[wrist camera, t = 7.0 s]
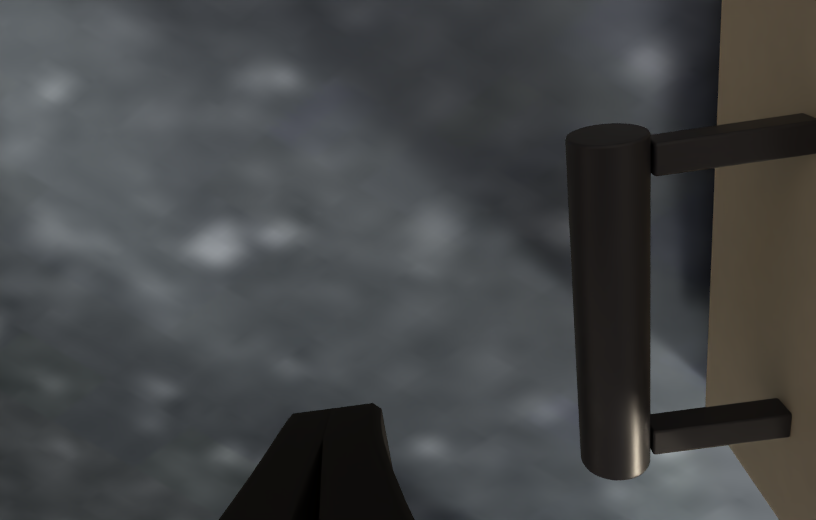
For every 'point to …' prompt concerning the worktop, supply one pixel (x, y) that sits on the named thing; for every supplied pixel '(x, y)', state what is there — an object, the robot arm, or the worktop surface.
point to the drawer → (730, 267)
